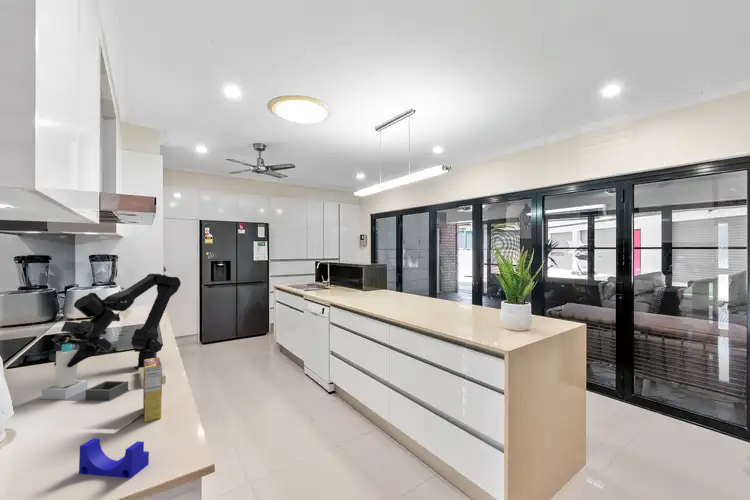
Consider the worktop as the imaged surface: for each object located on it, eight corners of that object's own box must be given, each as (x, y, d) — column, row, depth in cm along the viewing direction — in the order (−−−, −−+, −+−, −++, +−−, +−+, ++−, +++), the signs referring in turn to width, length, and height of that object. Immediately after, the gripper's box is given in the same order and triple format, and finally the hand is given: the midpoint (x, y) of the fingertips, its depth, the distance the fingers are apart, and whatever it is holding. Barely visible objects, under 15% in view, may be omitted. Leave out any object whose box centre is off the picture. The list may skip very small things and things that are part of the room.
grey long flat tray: (64, 390, 110) (65, 379, 110) (131, 392, 110) (132, 380, 110) (36, 402, 101) (37, 389, 101) (109, 404, 101) (109, 391, 101)
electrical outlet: (160, 362, 130) (166, 375, 116) (160, 372, 130) (165, 386, 116) (138, 365, 126) (141, 379, 112) (138, 376, 125) (140, 391, 111)
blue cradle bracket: (148, 465, 72) (149, 437, 72) (131, 479, 67) (132, 449, 68) (98, 461, 73) (99, 434, 73) (78, 474, 69) (79, 445, 69)
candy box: (141, 410, 97) (143, 359, 97) (159, 407, 99) (160, 356, 100) (142, 423, 90) (144, 367, 90) (161, 418, 92) (163, 364, 93)
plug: (70, 381, 108) (72, 342, 109) (76, 383, 107) (78, 343, 107) (54, 385, 105) (56, 345, 105) (60, 387, 103) (62, 346, 103)
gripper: (59, 310, 112) (17, 351, 101) (104, 312, 109) (66, 355, 97) (82, 328, 119) (46, 368, 108) (125, 331, 116) (92, 373, 105)
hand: (61, 366), depth 105 cm, fingers closed on plug, 5 cm apart
